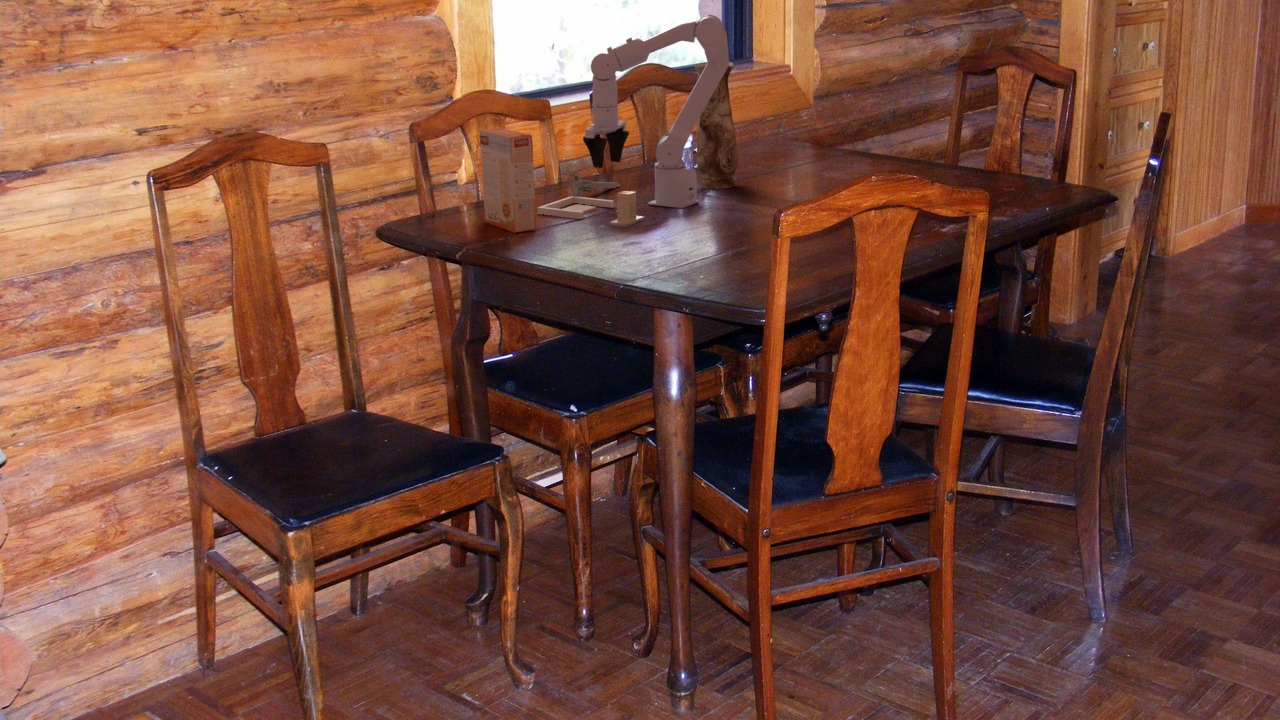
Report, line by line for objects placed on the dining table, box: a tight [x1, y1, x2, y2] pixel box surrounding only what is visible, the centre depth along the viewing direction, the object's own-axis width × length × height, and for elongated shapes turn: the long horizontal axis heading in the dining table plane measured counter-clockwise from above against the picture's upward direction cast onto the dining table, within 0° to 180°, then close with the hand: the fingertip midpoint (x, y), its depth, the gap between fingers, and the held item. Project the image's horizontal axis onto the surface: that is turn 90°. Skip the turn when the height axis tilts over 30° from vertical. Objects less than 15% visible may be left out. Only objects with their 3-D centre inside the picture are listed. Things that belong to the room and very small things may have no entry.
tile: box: [562, 204, 598, 215], centre depth 294 cm, size 6×6×1 cm
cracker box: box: [479, 127, 537, 234], centre depth 277 cm, size 14×6×21 cm, turn 34°
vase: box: [694, 61, 739, 190], centre depth 313 cm, size 10×11×30 cm
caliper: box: [571, 175, 622, 197], centre depth 311 cm, size 20×1×6 cm, turn 148°
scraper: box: [609, 190, 645, 228], centre depth 281 cm, size 4×8×7 cm, turn 148°
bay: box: [536, 195, 615, 220], centre depth 294 cm, size 12×14×2 cm
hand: (607, 164), depth 297 cm, fingers open, 7 cm apart
